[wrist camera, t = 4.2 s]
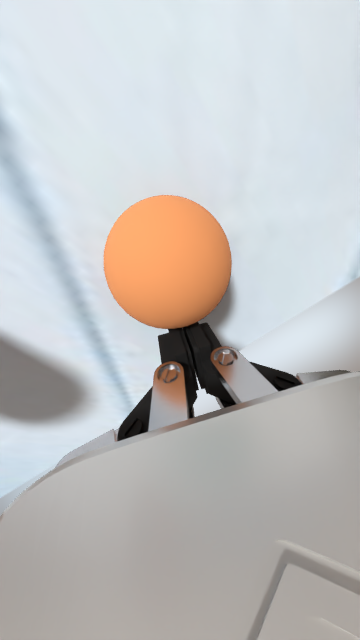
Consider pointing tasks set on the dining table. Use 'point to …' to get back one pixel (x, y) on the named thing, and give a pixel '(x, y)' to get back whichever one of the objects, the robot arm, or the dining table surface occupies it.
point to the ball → (167, 262)
